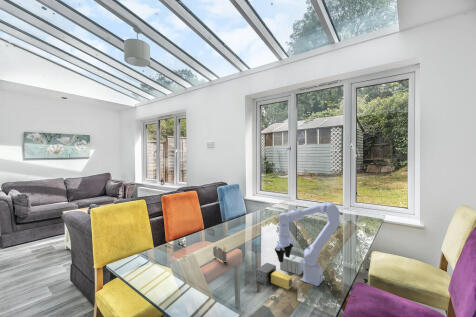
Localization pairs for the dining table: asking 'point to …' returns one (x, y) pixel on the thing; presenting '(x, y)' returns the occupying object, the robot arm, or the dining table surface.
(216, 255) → the ruin model on sheet
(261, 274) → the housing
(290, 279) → the end cover
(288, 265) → the supplement box
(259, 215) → the dining table surface
